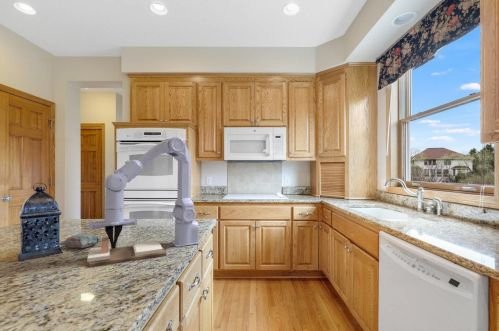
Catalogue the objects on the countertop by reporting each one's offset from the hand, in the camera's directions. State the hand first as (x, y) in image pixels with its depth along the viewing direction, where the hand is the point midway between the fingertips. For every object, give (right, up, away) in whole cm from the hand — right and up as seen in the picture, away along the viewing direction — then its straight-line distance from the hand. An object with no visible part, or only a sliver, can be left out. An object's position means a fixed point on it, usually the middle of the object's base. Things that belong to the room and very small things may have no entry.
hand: (113, 247), depth 84 cm
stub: (-4, -2, -2) cm, 5 cm away
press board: (+4, -3, +2) cm, 6 cm away
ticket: (+10, -4, +5) cm, 11 cm away
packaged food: (-19, -4, +10) cm, 22 cm away
